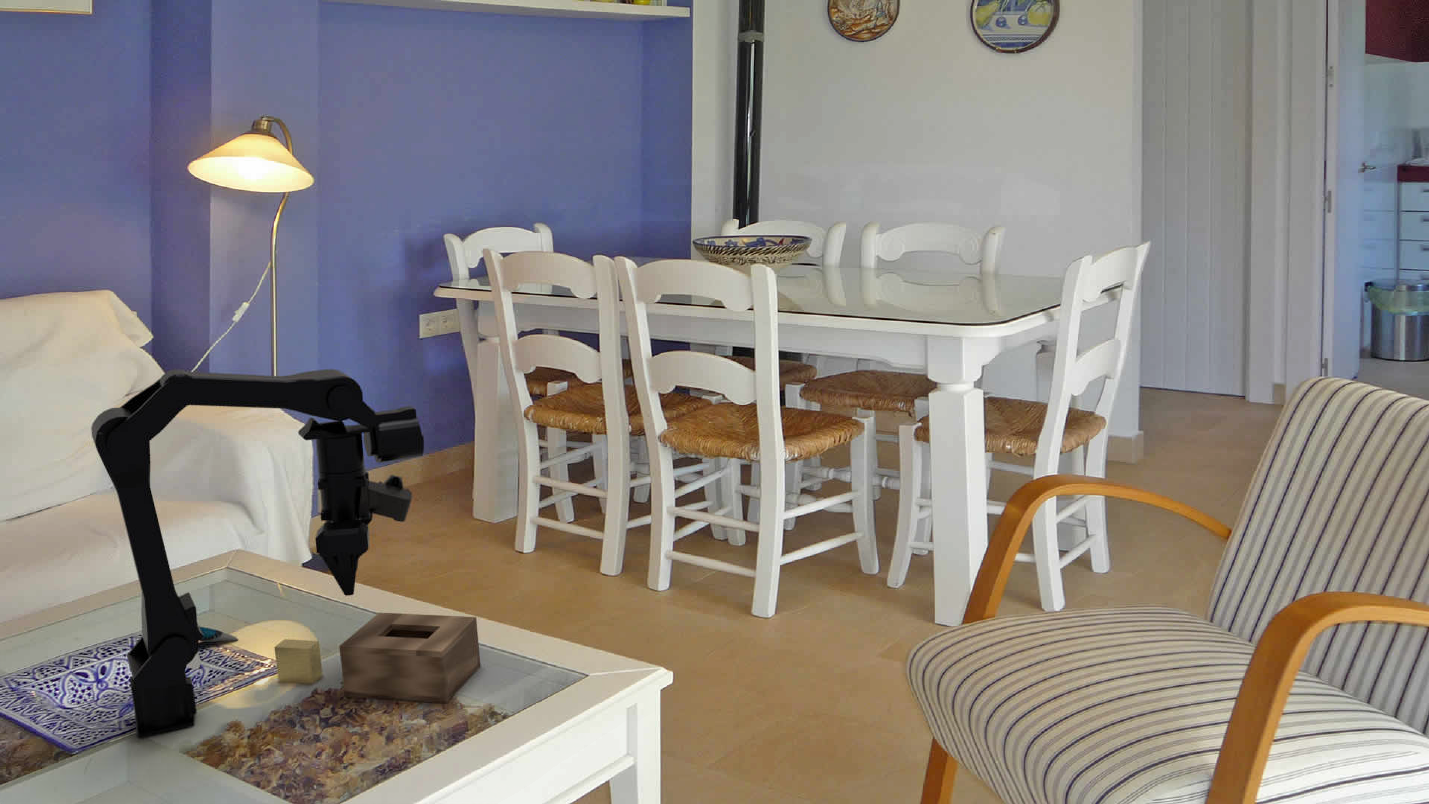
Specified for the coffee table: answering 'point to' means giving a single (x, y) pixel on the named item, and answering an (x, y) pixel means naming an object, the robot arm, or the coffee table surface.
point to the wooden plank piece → (298, 661)
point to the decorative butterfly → (208, 637)
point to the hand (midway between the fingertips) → (351, 582)
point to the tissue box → (410, 657)
